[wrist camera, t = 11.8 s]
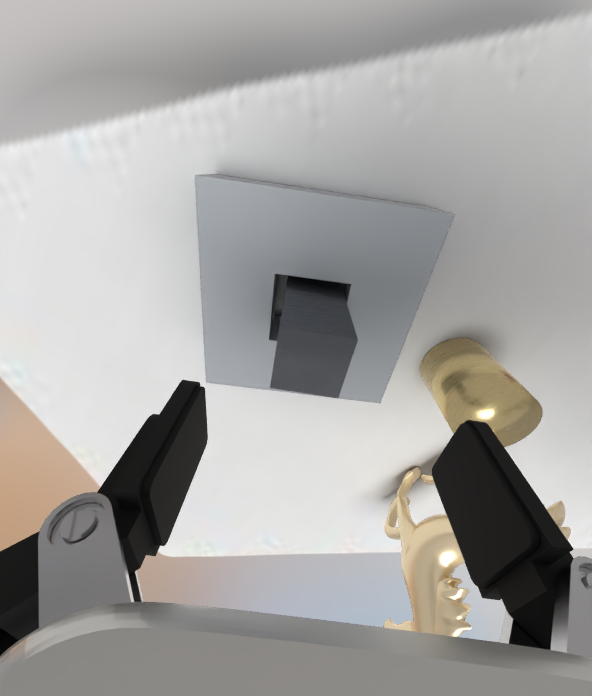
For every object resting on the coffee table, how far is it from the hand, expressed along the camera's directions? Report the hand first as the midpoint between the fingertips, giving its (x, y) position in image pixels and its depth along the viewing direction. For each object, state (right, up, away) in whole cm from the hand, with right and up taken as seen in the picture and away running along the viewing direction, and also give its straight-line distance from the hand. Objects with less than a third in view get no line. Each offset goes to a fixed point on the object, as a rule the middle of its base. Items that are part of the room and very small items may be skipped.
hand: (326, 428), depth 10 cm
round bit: (+13, +1, +15) cm, 20 cm away
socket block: (0, +7, +12) cm, 14 cm away
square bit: (0, +7, +12) cm, 14 cm away
